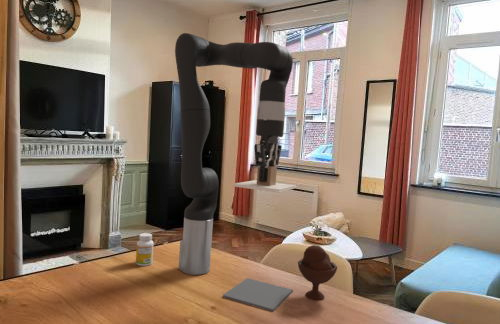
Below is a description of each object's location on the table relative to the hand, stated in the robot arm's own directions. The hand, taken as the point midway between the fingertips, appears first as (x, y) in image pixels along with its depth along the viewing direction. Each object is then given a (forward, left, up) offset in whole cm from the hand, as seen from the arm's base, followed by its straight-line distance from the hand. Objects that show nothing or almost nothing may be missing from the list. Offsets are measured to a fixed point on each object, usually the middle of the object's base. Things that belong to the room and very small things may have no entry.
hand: (266, 181), depth 103 cm
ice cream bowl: (+14, +8, -33) cm, 36 cm away
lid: (0, 0, -2) cm, 2 cm away
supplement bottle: (-42, 0, -33) cm, 53 cm away
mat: (0, 0, -32) cm, 32 cm away
